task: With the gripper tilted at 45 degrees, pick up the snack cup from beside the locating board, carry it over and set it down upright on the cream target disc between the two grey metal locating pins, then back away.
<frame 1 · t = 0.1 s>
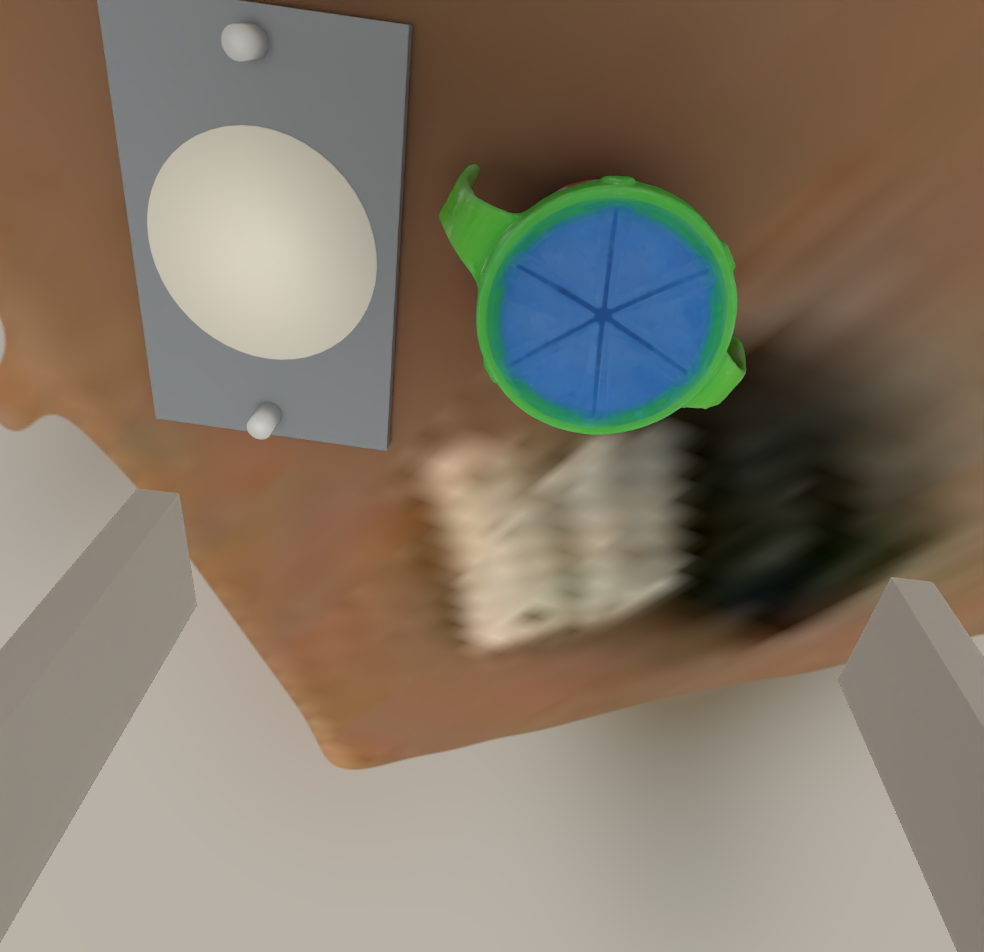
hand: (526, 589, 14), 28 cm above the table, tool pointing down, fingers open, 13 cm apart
snack cup: (591, 253, 38), on the table
locating board: (269, 246, 39), on the table
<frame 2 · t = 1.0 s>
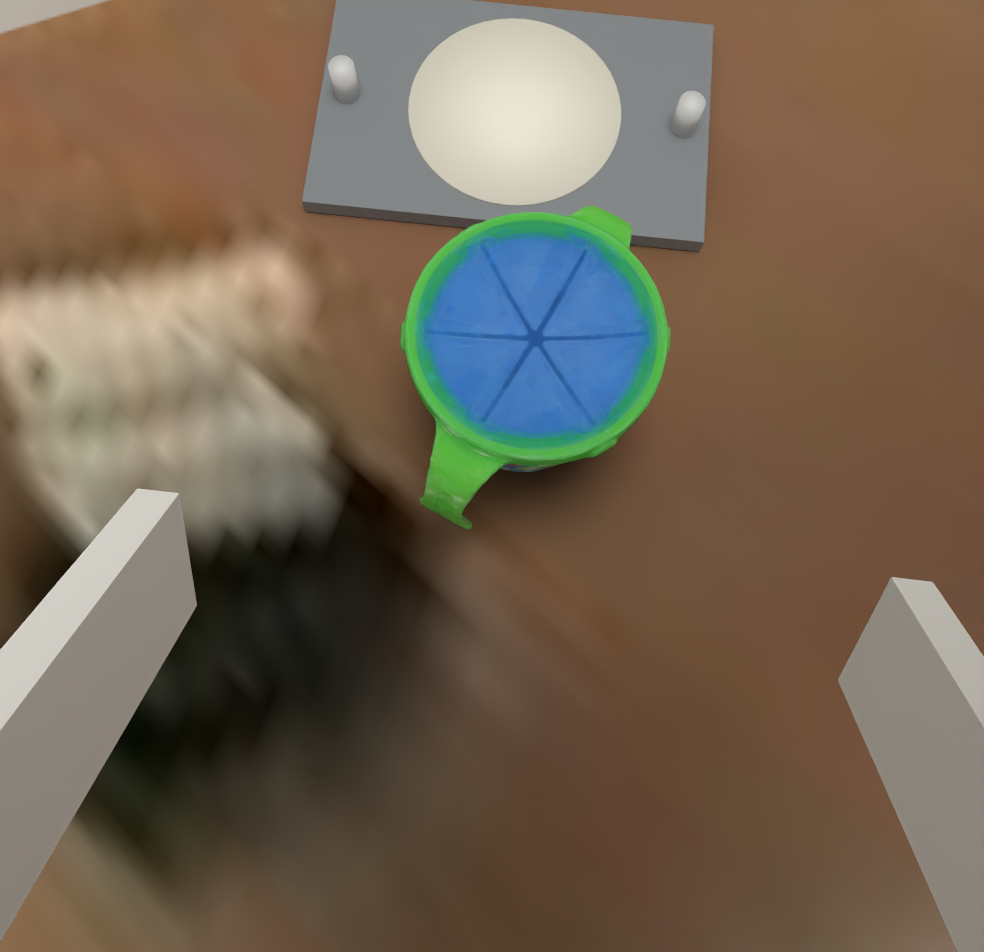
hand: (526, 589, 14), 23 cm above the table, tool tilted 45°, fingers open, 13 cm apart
snack cup: (521, 407, 39), on the table
locating board: (514, 122, 42), on the table
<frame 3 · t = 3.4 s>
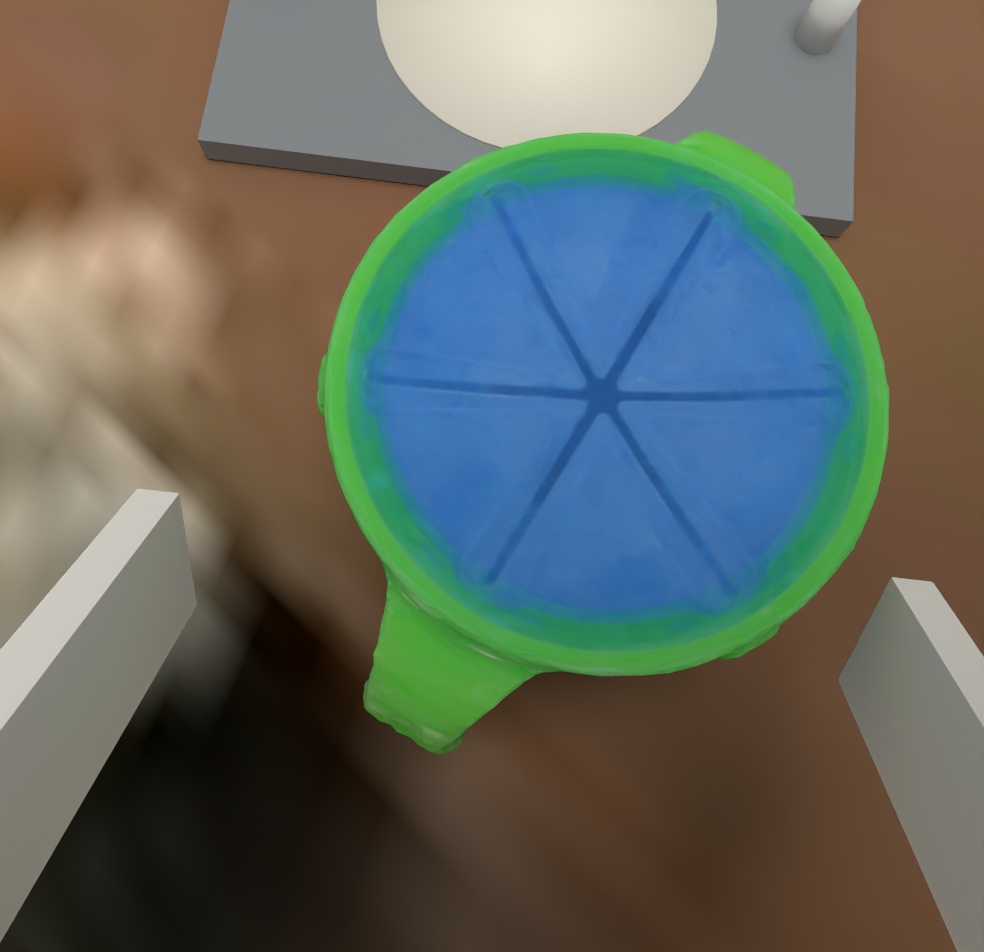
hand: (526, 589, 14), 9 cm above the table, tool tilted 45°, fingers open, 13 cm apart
snack cup: (550, 487, 23), on the table
locating board: (544, 27, 27), on the table
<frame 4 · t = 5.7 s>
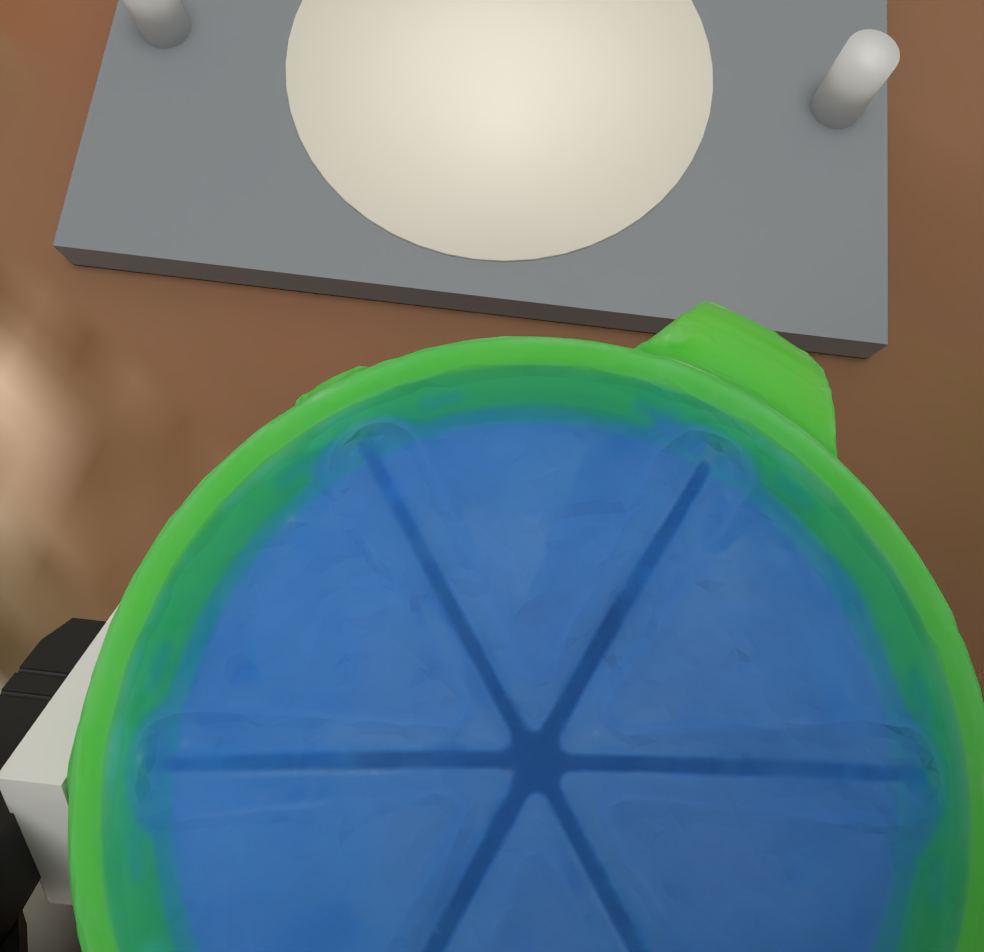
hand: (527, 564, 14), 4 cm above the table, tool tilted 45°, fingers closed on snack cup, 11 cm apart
snack cup: (502, 696, 18), on the table, touching gripper
locating board: (499, 93, 22), on the table
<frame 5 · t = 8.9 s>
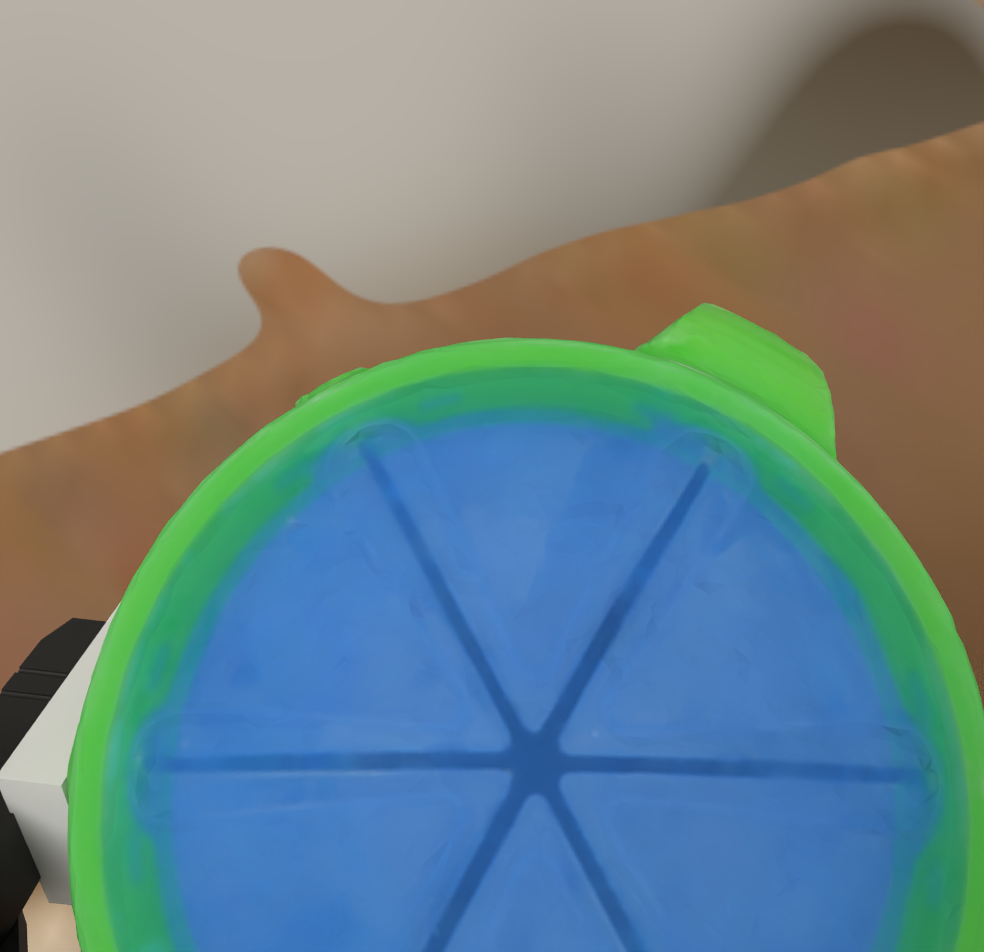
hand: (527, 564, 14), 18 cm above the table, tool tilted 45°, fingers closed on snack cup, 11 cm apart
snack cup: (502, 696, 18), point 14 cm above the table, touching gripper
when the fingers open (7 cm above the table, at t = 12.0 s): snack cup drops 1 cm, resting on locating board.
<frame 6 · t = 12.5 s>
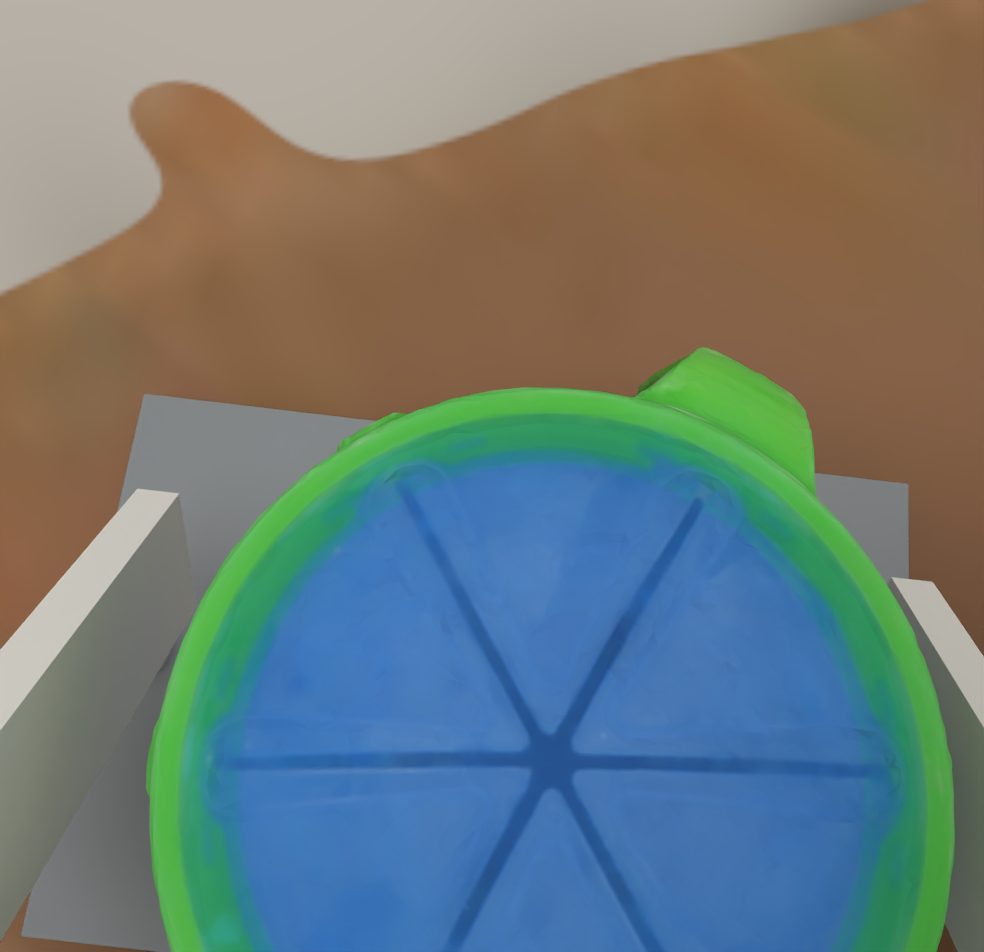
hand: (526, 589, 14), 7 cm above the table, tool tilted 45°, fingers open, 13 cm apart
snack cup: (512, 698, 19), point 1 cm above the table, touching locating board
locating board: (498, 689, 20), on the table
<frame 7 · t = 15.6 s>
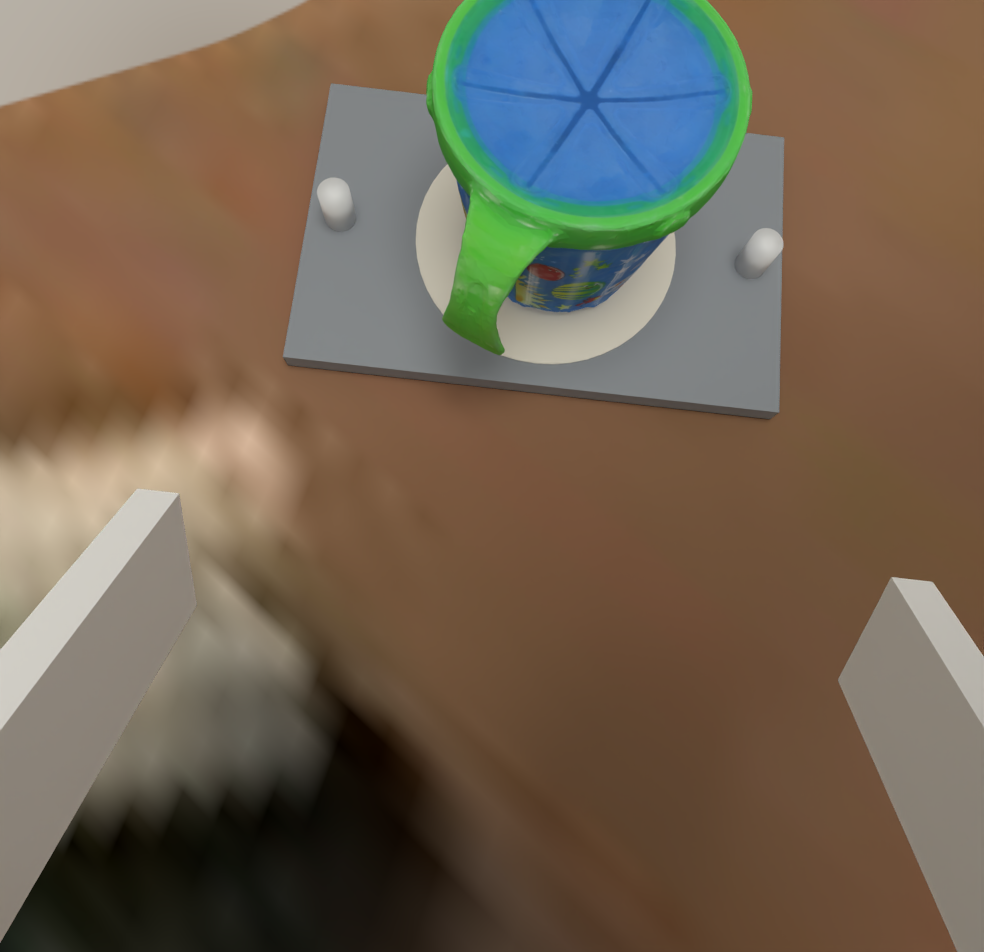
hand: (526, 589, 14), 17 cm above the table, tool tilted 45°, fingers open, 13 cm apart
snack cup: (553, 246, 34), point 1 cm above the table, touching locating board
locating board: (543, 252, 35), on the table
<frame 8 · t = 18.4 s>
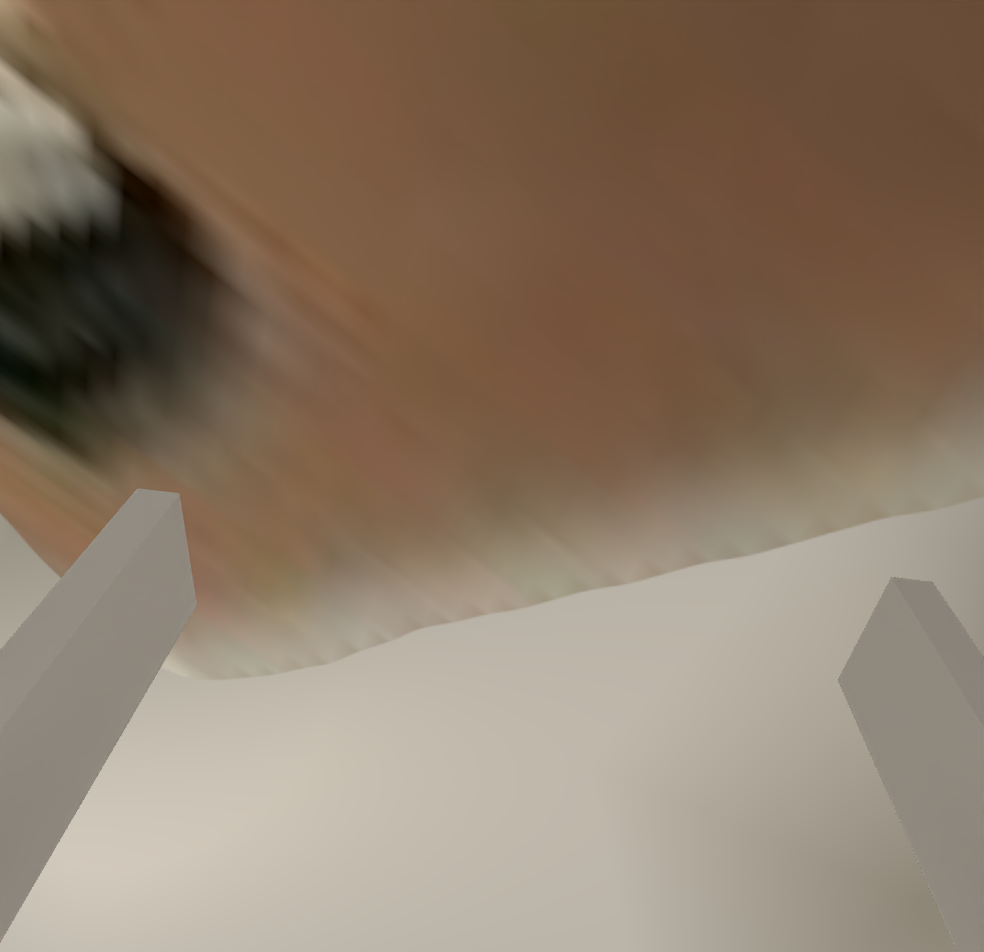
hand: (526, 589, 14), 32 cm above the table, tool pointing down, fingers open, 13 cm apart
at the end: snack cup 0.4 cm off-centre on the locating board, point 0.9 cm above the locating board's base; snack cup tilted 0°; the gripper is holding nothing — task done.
